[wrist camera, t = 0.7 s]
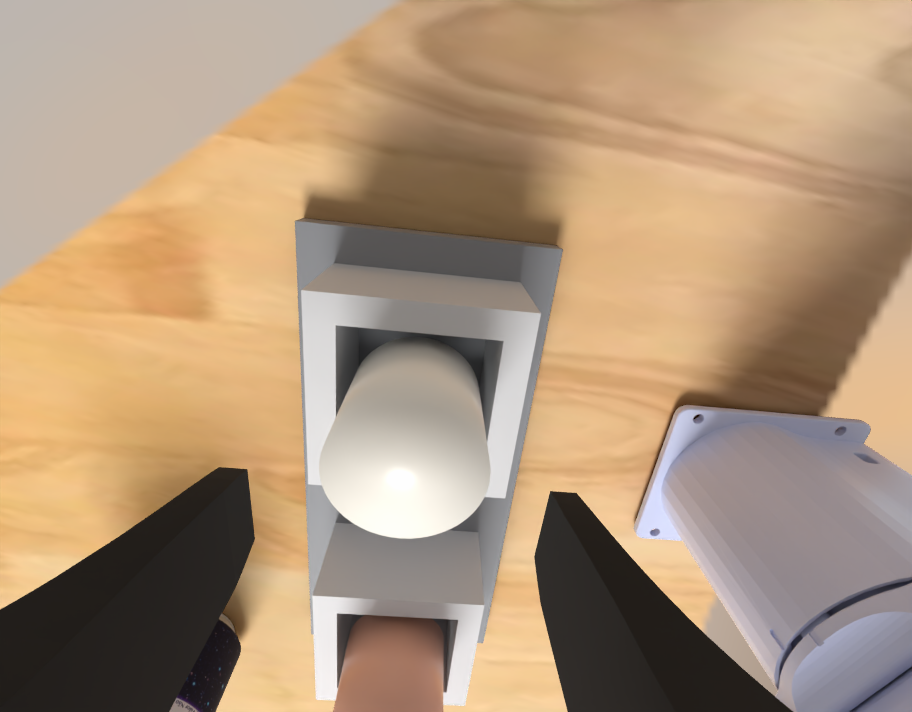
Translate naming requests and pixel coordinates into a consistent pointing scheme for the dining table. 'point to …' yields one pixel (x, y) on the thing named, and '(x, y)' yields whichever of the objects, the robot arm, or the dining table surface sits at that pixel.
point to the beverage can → (210, 671)
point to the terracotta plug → (392, 666)
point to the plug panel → (503, 405)
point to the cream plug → (408, 442)
